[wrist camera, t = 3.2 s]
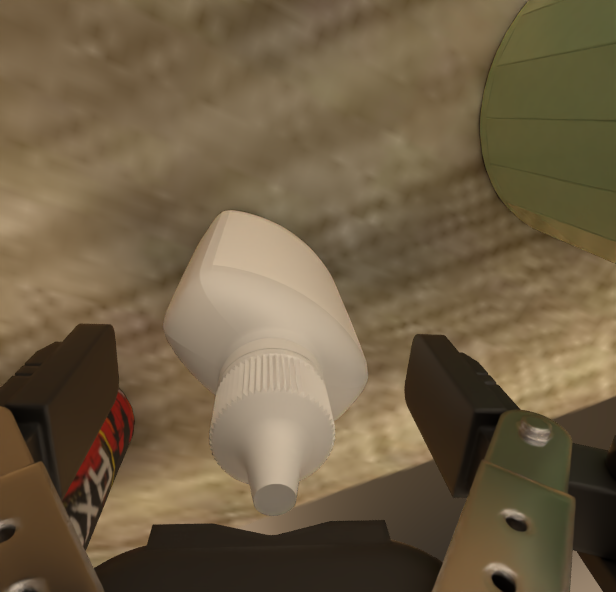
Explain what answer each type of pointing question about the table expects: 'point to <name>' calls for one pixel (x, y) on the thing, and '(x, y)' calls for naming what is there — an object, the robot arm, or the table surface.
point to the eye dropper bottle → (266, 353)
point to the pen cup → (556, 121)
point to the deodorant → (99, 470)
